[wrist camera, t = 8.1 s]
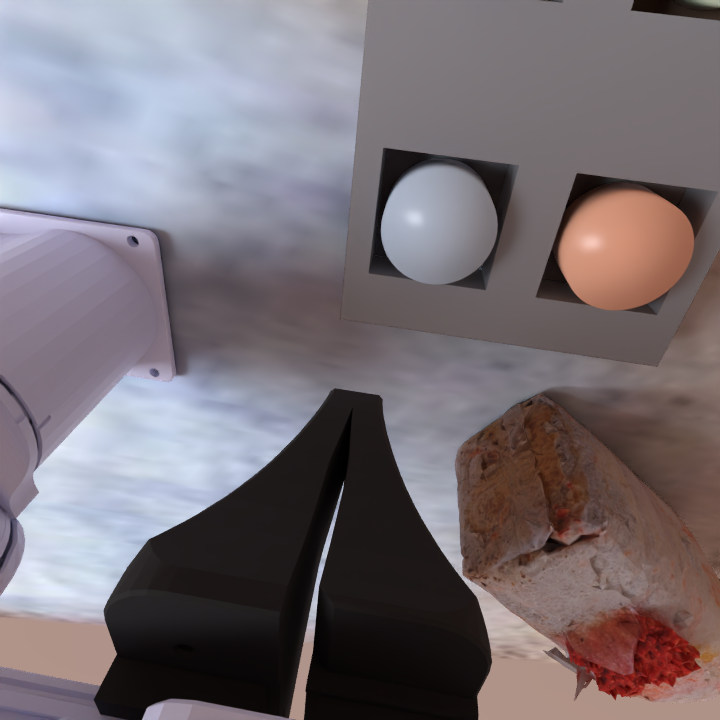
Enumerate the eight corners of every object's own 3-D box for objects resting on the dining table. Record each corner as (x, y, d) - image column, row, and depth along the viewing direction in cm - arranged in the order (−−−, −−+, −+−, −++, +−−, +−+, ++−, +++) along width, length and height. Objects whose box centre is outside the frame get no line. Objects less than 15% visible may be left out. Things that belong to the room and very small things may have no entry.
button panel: (347, 298, 22) (340, 319, 20) (409, -356, 12) (405, -422, 10) (639, 341, 21) (657, 366, 20) (960, -313, 11) (1051, -376, 10)
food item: (709, 523, 27) (832, 735, 18) (582, 576, 30) (637, 772, 22) (553, 373, 23) (622, 557, 15) (429, 456, 27) (428, 639, 18)
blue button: (380, 255, 20) (374, 276, 18) (393, 150, 18) (389, 163, 16) (477, 269, 20) (482, 291, 18) (503, 165, 17) (511, 179, 16)
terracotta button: (539, 278, 20) (550, 301, 18) (573, 174, 17) (589, 189, 15) (640, 292, 19) (661, 317, 17) (687, 189, 17) (717, 206, 15)
